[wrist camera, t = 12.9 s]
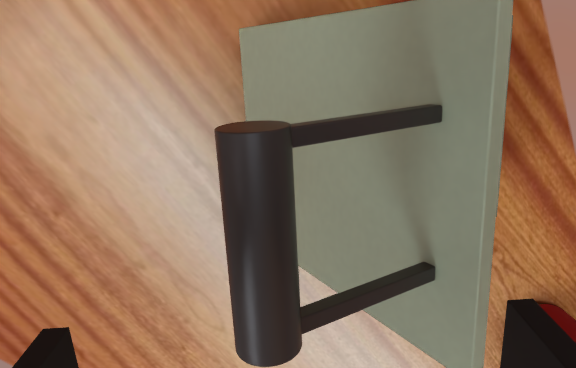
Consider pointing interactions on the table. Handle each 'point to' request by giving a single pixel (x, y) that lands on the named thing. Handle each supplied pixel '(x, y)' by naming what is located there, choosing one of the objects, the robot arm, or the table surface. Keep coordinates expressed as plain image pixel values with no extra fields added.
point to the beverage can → (561, 319)
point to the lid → (367, 175)
